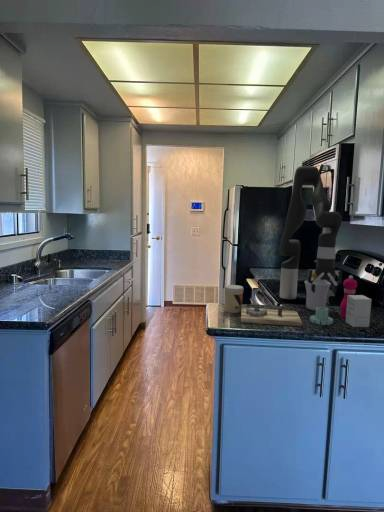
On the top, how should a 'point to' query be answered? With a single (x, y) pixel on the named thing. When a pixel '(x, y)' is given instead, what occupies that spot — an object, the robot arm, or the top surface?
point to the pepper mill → (347, 293)
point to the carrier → (270, 316)
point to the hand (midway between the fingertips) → (323, 292)
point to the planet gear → (321, 316)
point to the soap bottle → (317, 293)
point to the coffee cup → (233, 298)
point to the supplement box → (358, 310)
